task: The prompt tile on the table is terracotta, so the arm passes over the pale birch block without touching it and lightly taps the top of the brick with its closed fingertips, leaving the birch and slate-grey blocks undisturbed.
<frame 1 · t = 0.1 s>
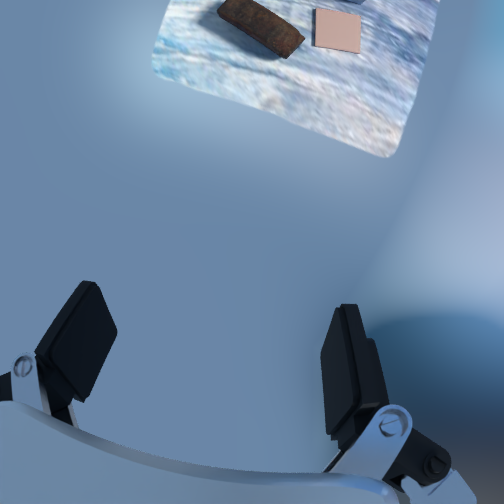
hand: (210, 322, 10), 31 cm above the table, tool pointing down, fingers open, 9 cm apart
prompt tile: (337, 30, 26), on the table
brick: (262, 29, 27), on the table
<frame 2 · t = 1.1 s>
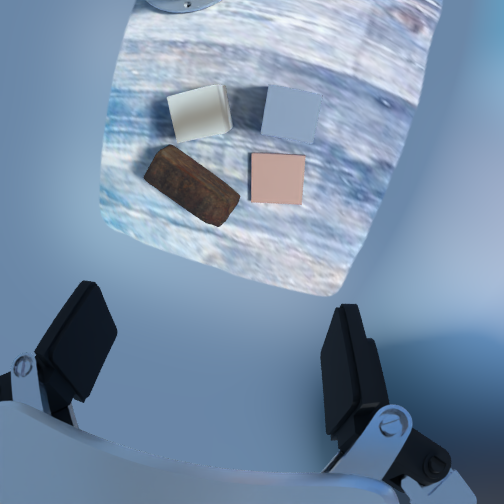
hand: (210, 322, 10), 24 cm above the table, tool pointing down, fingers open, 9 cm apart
slate block: (289, 111, 27), on the table
prompt tile: (277, 178, 31), on the table
birch block: (207, 110, 28), on the table
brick: (198, 179, 33), on the table
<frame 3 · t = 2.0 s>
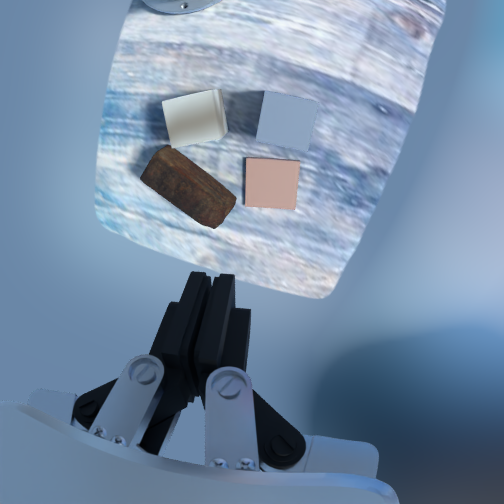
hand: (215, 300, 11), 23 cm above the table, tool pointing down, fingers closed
slate block: (284, 116, 27), on the table
prompt tile: (271, 183, 32), on the table
birch block: (203, 114, 28), on the table
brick: (195, 179, 32), on the table
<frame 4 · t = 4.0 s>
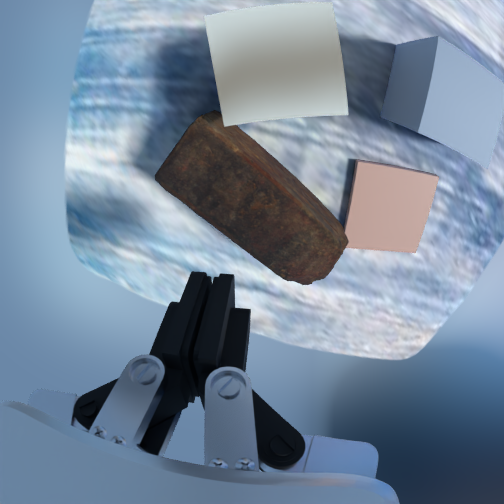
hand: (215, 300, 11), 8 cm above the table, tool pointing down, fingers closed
slate block: (422, 95, 12), on the table
prompt tile: (389, 208, 17), on the table
birch block: (277, 68, 13), on the table
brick: (262, 184, 17), on the table
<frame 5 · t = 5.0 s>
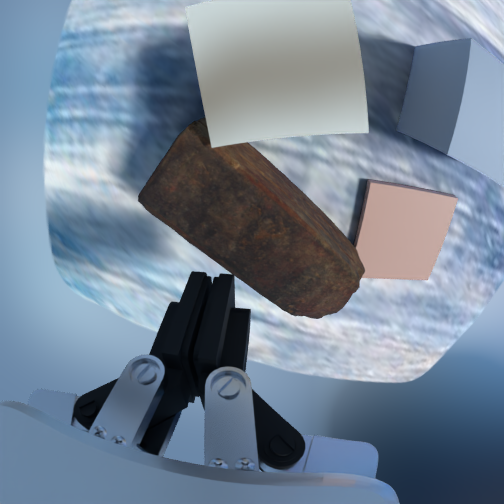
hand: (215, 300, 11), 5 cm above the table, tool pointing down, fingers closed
slate block: (443, 105, 10), on the table
prompt tile: (402, 233, 15), on the table
birch block: (277, 71, 11), on the table
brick: (267, 202, 15), on the table
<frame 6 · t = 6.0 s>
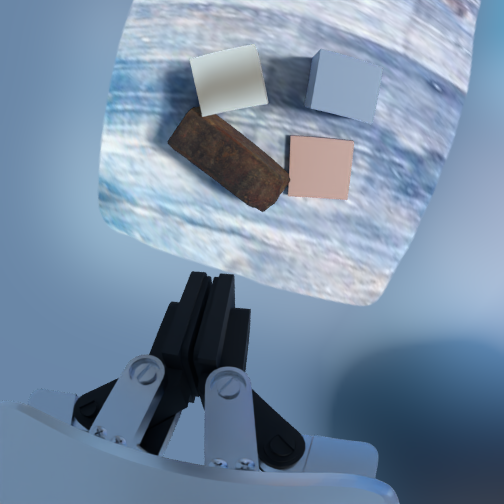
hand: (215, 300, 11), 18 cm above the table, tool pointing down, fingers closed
slate block: (334, 87, 21), on the table
prompt tile: (320, 167, 25), on the table
birch block: (236, 82, 22), on the table
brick: (235, 151, 26), on the table
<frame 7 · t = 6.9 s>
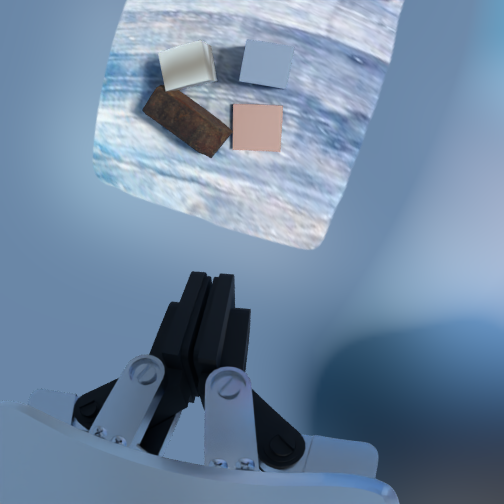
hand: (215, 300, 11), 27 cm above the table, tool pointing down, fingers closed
slate block: (267, 67, 28), on the table
prompt tile: (257, 127, 32), on the table
birch block: (195, 67, 28), on the table, touching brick
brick: (193, 117, 32), on the table, touching birch block
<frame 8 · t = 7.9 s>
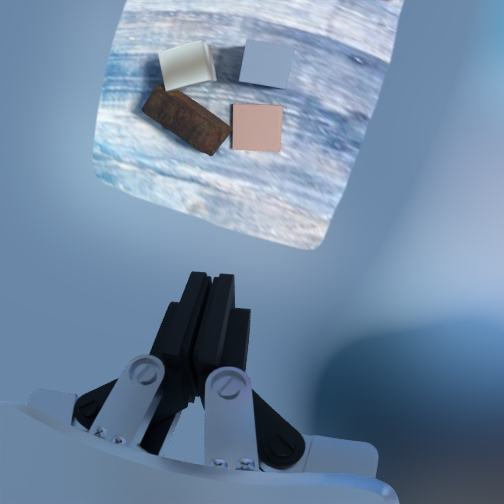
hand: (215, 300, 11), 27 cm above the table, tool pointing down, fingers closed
slate block: (267, 67, 28), on the table
prompt tile: (257, 127, 32), on the table
birch block: (194, 67, 28), on the table
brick: (193, 116, 32), on the table
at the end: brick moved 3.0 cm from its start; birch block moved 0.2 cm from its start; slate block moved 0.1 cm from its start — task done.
